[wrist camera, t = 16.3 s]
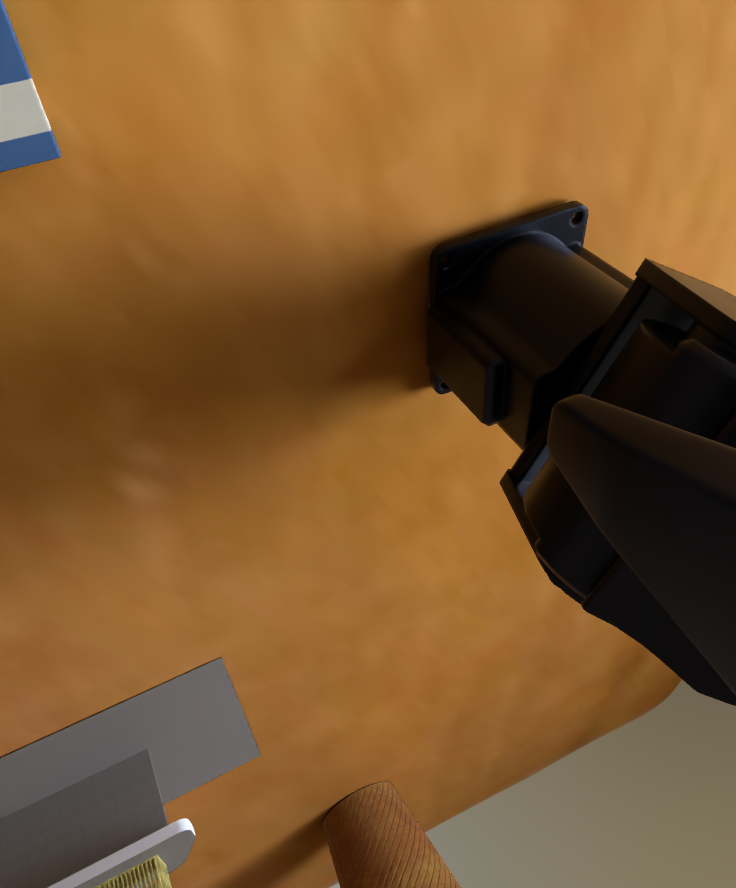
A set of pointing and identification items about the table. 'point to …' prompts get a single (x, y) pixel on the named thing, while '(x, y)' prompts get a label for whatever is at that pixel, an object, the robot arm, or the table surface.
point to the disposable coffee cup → (382, 843)
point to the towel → (20, 108)
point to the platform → (119, 786)
